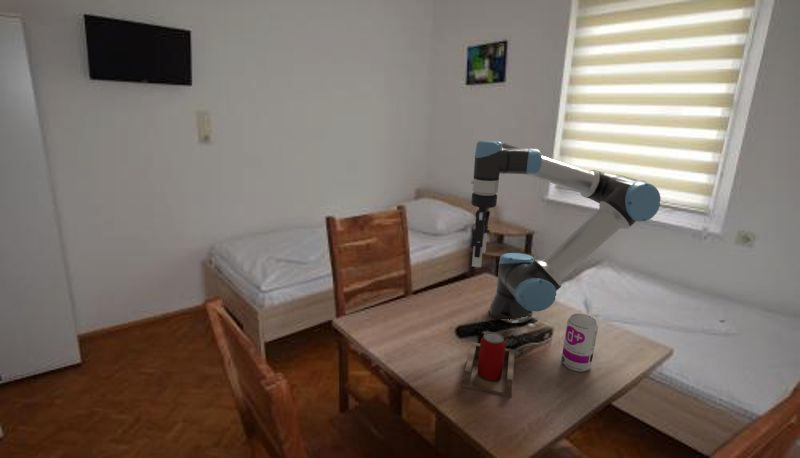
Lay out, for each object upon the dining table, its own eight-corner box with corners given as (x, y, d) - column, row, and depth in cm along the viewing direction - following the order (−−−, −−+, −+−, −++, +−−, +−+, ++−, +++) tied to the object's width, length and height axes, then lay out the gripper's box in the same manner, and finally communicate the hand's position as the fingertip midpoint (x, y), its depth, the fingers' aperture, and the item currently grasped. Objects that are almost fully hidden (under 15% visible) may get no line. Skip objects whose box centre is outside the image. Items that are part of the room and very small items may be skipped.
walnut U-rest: (469, 357, 130) (470, 341, 129) (513, 365, 127) (515, 349, 125) (462, 386, 116) (463, 370, 115) (511, 397, 113) (513, 380, 111)
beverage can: (501, 370, 123) (506, 332, 120) (501, 384, 117) (506, 345, 113) (477, 366, 124) (481, 329, 121) (476, 380, 118) (480, 341, 114)
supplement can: (577, 375, 123) (585, 328, 119) (555, 360, 130) (562, 315, 125) (596, 368, 126) (605, 322, 122) (574, 354, 133) (581, 310, 129)
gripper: (476, 184, 142) (471, 245, 148) (466, 200, 119) (461, 271, 125) (500, 186, 140) (494, 248, 146) (494, 202, 117) (487, 274, 123)
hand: (478, 259), depth 135 cm, fingers open, 13 cm apart
